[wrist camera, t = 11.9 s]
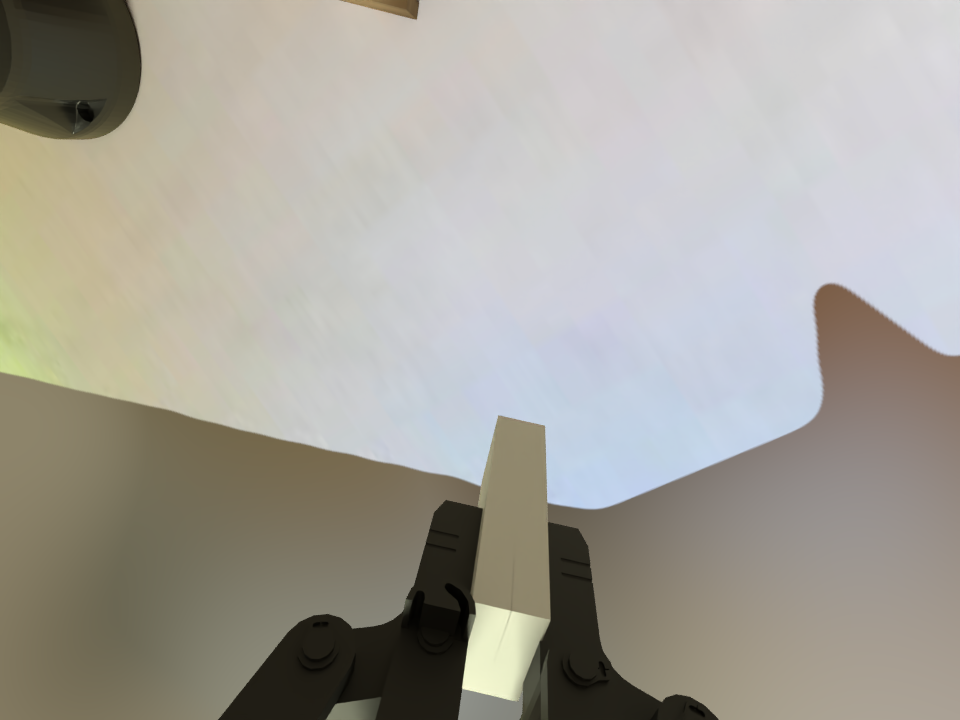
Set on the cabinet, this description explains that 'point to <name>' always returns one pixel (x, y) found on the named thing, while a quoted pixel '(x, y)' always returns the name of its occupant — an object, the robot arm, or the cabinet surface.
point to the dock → (391, 6)
